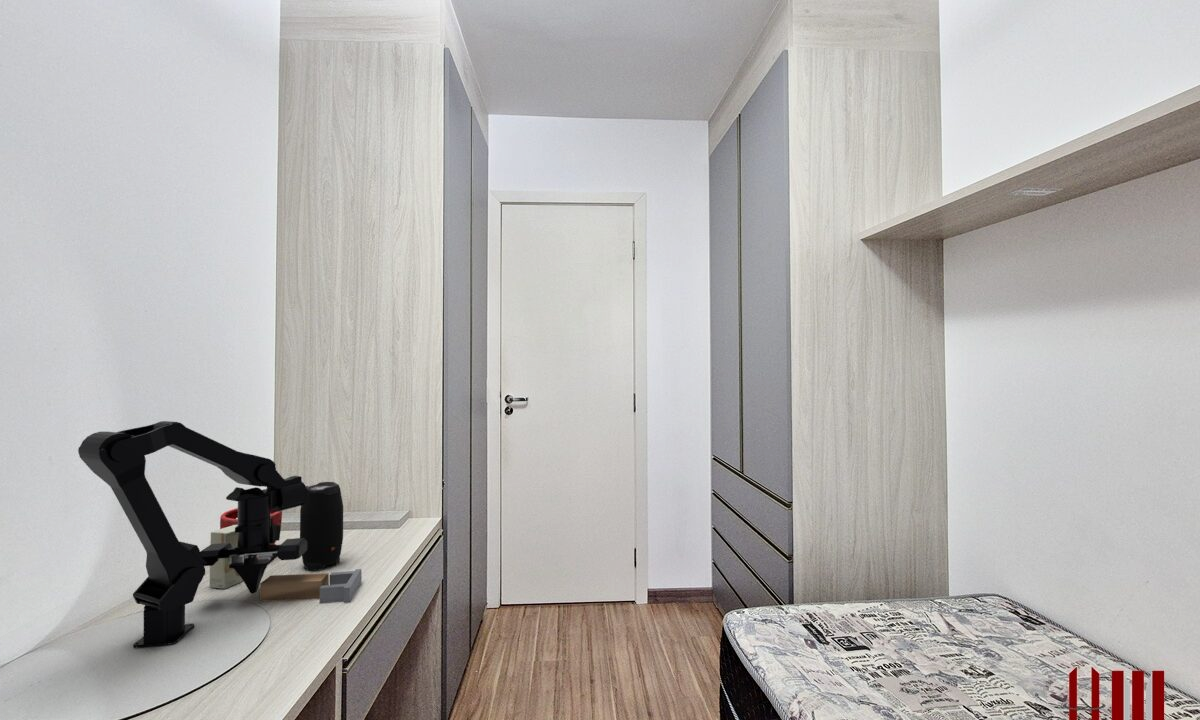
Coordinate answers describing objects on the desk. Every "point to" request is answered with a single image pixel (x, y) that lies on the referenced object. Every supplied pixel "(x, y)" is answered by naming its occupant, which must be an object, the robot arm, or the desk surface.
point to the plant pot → (230, 519)
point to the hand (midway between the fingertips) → (254, 592)
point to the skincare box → (224, 560)
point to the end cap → (341, 586)
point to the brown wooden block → (292, 587)
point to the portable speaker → (322, 525)
